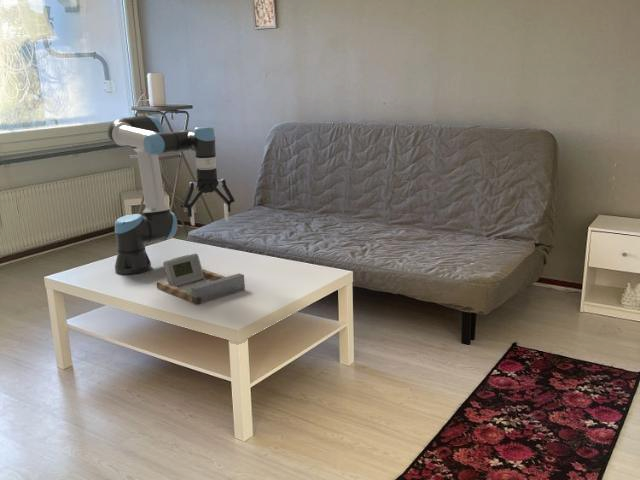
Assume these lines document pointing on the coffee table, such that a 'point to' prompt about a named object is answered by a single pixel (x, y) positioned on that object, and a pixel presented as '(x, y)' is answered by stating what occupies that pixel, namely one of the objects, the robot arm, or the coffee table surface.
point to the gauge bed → (187, 294)
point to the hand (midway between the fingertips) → (209, 222)
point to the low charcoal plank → (218, 288)
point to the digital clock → (183, 270)
